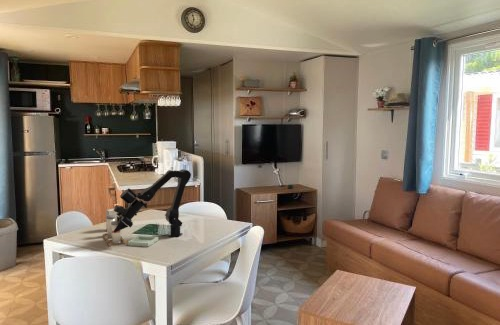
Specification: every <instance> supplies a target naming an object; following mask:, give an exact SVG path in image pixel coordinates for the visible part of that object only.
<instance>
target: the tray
mask: <svg viewBox="0 0 500 325" xmlns="http://www.w3.org/2000/svg"><path fill="white" fill-rule="evenodd" d="M158 241H159V236H147V235H138V236H136V237H134V238H132V239H130V240H128V243H127V246H131V247H141V246H142V247H143V248H144V247H145V248H149V247H150V246H152V245H154V244H155V243H157V242H158Z"/></svg>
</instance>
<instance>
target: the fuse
mask: <svg viewBox="0 0 500 325" xmlns="http://www.w3.org/2000/svg"><path fill="white" fill-rule="evenodd" d="M112 221H115V215H108V216H107V227H106V232H107V235H106V237H107V236H112V225H111V222H112Z"/></svg>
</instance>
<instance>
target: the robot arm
mask: <svg viewBox="0 0 500 325" xmlns="http://www.w3.org/2000/svg"><path fill="white" fill-rule="evenodd" d="M191 177H192V173H191V171H190V170H187V169H180V170H170V169H168V170H167V171H166V172H165V173H164V174H163V175H162V176H161V177H160V178H158V179H157V180H156V181H155V182H154V183H153V184H152V185H150V186H148V187H146V188H145V189H143V190H141V191H140V192H138V193H137V192H136V193H135V192H133V190H132V189H131V188H130V187H129V188H127V189H126V190H124V191H123V192H122V193H121V194H120V196H119V198H121V200H122V201H123V202H125V203H126V204H127V205H129V204H130V205H129V206H126V207H124V206H122V205H117V204H115V205H114V207H113V209H114V211H115V212H117V213H116V214H117V215H118V216H117V221H119V224H118V225H117V227H116V228H115V230H114V232H117V231H120V232H121V231H122V230H123V229H126V228H130V229H131V227H132V226H134V222H133V221H132V219H133V218H134V217H135V216H137V215H138V213H139V211H140V210H141V209H142V208H143V207H144V208H145V209H147V208H148V206H147V203H148V202H150V201H151V200H152V199H153V198H154V197H155V195H156V193H157V191H159V190H160V189H161V188H163V187H164V186H165V185H166V184H167V182H169V181H170V180H171V179H172V178H175V179H177V186H176V189H175V193H174V196H173V199H172V203H171V206H170V207H169V208H166V210H165V211H166V212H165V214H164V217H165V221H166V222H168V224H169V225H170V228H169V229H170V234H168V236H167V237H172V238H174V237H175V238H179V237H180V236H182V235H183V234H184V233H182V232H181V227H182V225H183V222H182V221H181V220H180V219H179V217H180V210H179V209H180V207H181V202H182V198H183V195H184V191H185V188H186V186H187V184H188V183H189V181H190V179H191Z"/></svg>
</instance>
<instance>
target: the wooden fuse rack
mask: <svg viewBox="0 0 500 325" xmlns="http://www.w3.org/2000/svg"><path fill="white" fill-rule="evenodd" d="M102 236H103V238H104V240H105V242H106V243H107V245H108V246H109V247H114V246H115V247H116V246H123V245H127V244H128V241H129V240H125V238H123V237H122V236H121V234H120V237H121V243H115V244H112V236H107V233H102Z"/></svg>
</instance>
